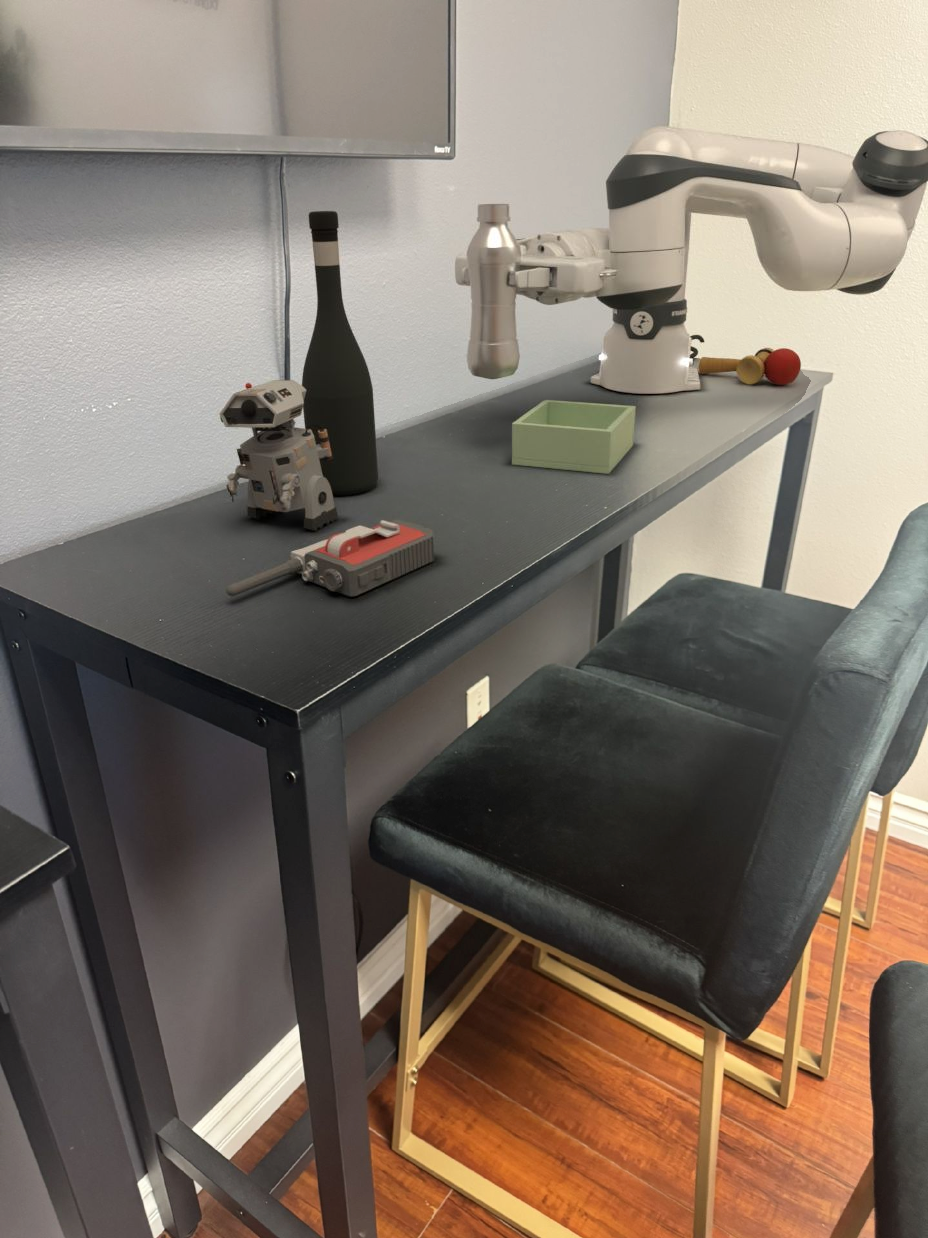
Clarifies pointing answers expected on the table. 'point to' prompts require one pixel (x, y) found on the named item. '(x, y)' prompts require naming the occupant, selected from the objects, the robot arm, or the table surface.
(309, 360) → the wine bottle
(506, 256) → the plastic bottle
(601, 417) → the bin
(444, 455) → the table surface
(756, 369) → the kendama
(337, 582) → the walkie-talkie
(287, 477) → the figurine
